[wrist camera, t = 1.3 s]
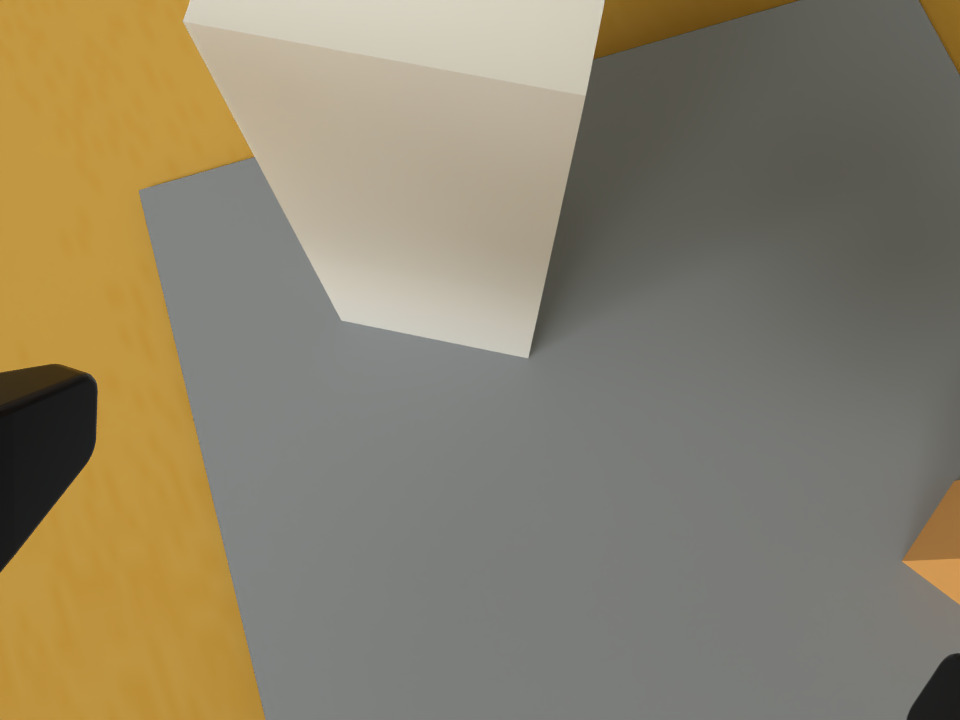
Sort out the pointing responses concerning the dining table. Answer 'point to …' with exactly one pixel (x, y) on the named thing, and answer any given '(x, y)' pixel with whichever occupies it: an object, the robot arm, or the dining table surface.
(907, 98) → the mat
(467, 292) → the tall white pillar
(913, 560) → the orange block
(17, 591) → the dining table surface
